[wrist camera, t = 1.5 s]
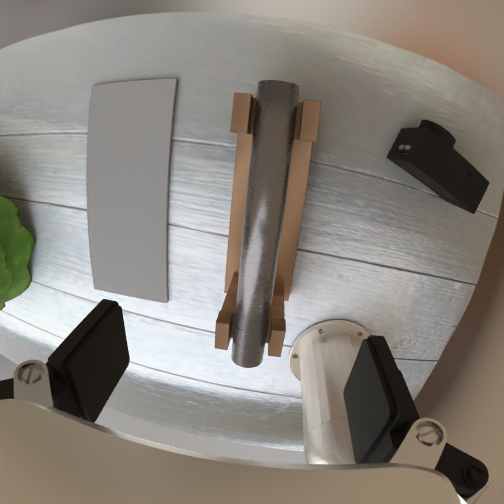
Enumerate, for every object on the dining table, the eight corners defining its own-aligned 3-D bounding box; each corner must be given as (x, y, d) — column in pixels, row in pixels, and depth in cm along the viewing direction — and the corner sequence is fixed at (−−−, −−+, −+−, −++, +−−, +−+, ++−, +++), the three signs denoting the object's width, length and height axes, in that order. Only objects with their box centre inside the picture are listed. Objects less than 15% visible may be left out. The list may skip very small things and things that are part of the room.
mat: (177, 79, 30) (176, 78, 30) (168, 301, 41) (166, 303, 40) (94, 86, 31) (92, 85, 30) (96, 287, 41) (94, 288, 41)
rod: (259, 86, 21) (256, 78, 18) (298, 90, 21) (300, 83, 18) (233, 345, 30) (229, 365, 27) (263, 349, 29) (261, 369, 27)
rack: (313, 118, 31) (332, 104, 19) (287, 295, 39) (289, 357, 27) (242, 109, 31) (222, 91, 20) (226, 287, 39) (205, 346, 27)
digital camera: (463, 167, 31) (494, 174, 24) (446, 201, 33) (475, 215, 26) (405, 120, 30) (431, 116, 23) (385, 157, 32) (409, 161, 25)
